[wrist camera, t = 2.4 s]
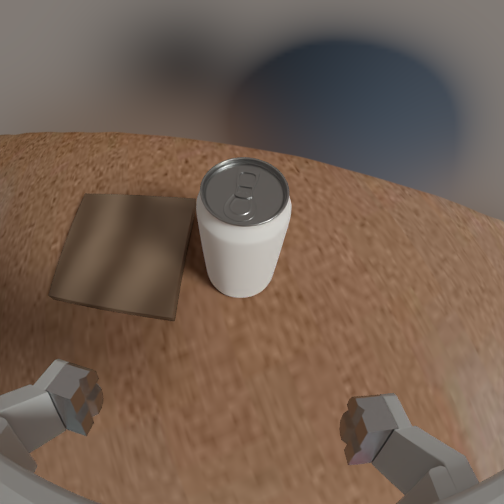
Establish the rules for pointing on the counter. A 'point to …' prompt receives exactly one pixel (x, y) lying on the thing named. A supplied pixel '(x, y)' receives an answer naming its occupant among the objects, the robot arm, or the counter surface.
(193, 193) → the counter surface
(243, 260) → the can
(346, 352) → the counter surface
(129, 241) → the walnut board
